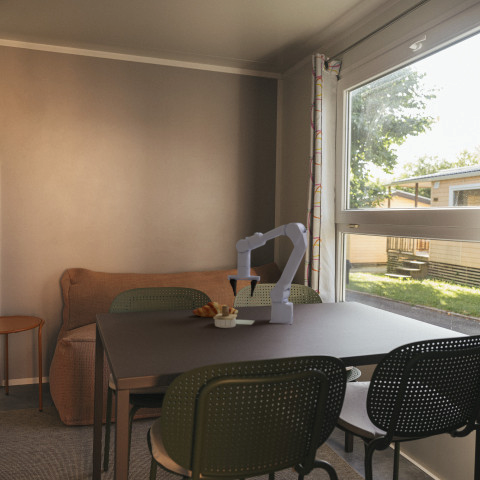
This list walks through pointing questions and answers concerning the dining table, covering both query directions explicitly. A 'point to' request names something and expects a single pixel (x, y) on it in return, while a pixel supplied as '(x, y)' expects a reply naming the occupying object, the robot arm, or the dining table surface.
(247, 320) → the plate
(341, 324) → the dining table surface
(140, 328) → the dining table surface
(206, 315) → the croissant
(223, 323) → the bowl
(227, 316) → the lid
